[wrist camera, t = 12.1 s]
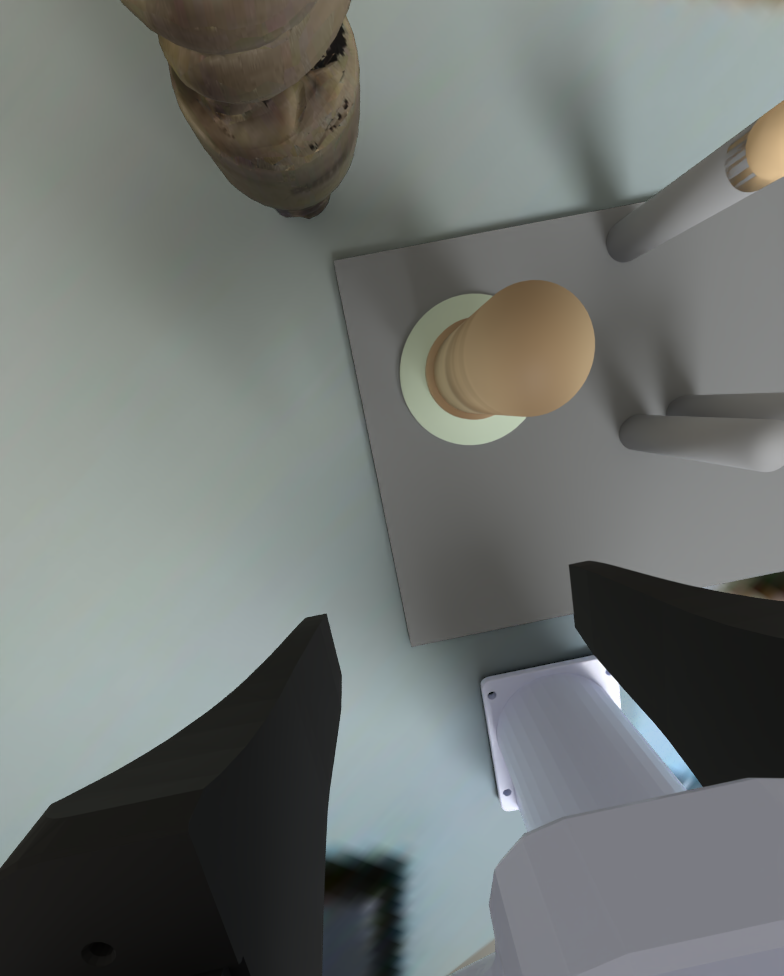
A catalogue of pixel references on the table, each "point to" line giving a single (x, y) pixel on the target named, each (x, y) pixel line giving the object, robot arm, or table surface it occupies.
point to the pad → (416, 383)
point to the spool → (513, 354)
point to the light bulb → (265, 91)
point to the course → (595, 401)
